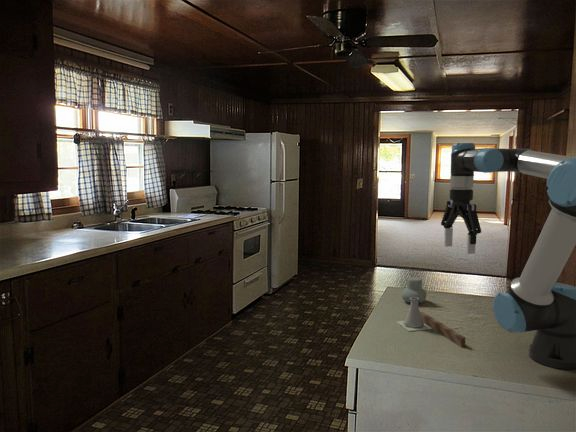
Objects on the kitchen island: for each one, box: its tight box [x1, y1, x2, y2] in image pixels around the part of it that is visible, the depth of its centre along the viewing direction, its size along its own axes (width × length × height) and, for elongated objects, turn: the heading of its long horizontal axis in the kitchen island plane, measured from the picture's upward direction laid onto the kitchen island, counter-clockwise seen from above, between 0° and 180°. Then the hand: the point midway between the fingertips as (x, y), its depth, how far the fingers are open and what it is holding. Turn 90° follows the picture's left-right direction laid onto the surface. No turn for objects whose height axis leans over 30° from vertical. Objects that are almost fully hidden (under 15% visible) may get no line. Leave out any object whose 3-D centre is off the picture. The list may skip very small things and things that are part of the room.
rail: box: [420, 311, 466, 348], centre depth 172 cm, size 27×2×3 cm, turn 14°
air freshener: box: [401, 276, 427, 305], centre depth 208 cm, size 11×8×10 cm
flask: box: [403, 297, 424, 328], centre depth 178 cm, size 7×7×10 cm
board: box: [395, 320, 432, 332], centre depth 179 cm, size 10×9×1 cm
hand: (459, 249), depth 171 cm, fingers open, 13 cm apart
